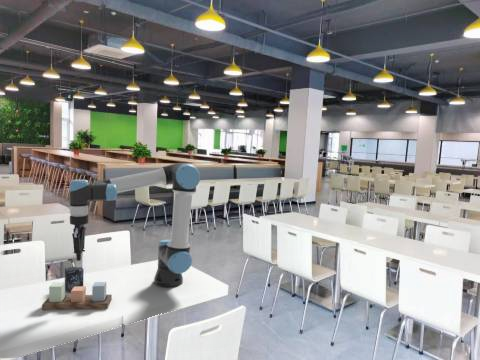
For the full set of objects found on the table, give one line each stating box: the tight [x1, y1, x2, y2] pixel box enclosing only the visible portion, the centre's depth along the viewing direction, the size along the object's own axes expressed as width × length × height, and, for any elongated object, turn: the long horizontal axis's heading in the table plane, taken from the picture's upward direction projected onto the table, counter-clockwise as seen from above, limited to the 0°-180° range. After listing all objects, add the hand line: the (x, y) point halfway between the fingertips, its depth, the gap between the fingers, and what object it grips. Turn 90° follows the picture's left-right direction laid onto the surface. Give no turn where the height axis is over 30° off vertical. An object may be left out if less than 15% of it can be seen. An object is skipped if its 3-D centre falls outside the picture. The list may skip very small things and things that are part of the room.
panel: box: [41, 294, 113, 311], centre depth 168 cm, size 27×10×2 cm, turn 99°
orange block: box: [70, 285, 87, 302], centre depth 168 cm, size 5×5×7 cm
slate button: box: [91, 281, 107, 301], centre depth 169 cm, size 5×5×7 cm
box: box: [64, 266, 85, 293], centre depth 186 cm, size 8×6×11 cm
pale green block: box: [48, 281, 66, 303], centre depth 166 cm, size 5×5×7 cm
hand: (79, 266), depth 167 cm, fingers closed
